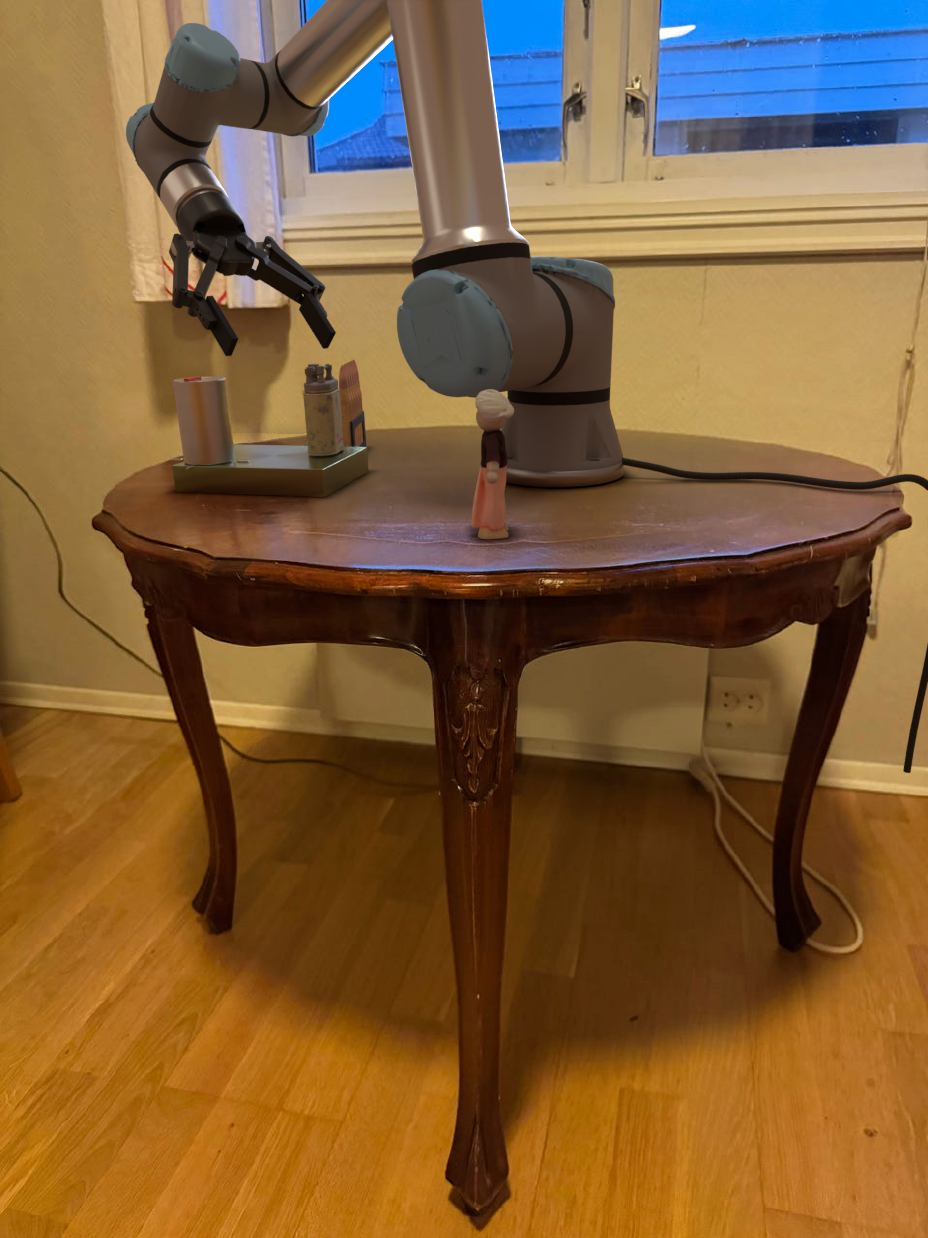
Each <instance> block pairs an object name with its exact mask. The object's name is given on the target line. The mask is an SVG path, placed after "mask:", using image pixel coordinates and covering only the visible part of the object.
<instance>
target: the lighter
mask: <svg viewBox="0 0 928 1238" xmlns="http://www.w3.org/2000/svg"><path fill="white" fill-rule="evenodd" d="M332 371H333V364H330V363H325V364H324V365H320V364H319V363H307V366H306V367H305V368H304V375H305V382H304V383H303V390H304V391H303V394H302V395H303V397H302V398H303V407H304V409H303V410H304V419H305V420H304V421H305V433H306V444H307V445H306V446H308V452H307V453H308V455H312V456H327V455H334V454H337V453H338V452H341V451H344V449H343V448H344V442H343V427H342V413H341V399H340V389H339V379H338V378H335V376H333V374H332V373H333V372H332Z"/></svg>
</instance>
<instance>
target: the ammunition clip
mask: <svg viewBox="0 0 928 1238" xmlns="http://www.w3.org/2000/svg"><path fill="white" fill-rule="evenodd" d="M338 388H339V389H340V399H341V413H342V427H343V442H344V447H367V433H366V419H365V410H363V397H362V395H363V394H362V389H361V382H360V374H359V369H358V365H357V362H356V360H355V359H352V360H350V361H348V362H346V363H344V364H341V365H340V368H339V373H338ZM367 448H368V447H367Z"/></svg>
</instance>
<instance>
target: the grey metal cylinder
mask: <svg viewBox="0 0 928 1238" xmlns="http://www.w3.org/2000/svg"><path fill="white" fill-rule="evenodd" d="M172 384H173V392H174V399H175V406H176V407H175V408H176V415H177V421H178V429H179V436H180V442H181V450H182V457H183V458H182V459H183V462H184V463H186V464H189V465H214V464H222V463H227V462H231V461H233V460H234V459H235V455H234V446H233V444H234V438H233V430H232V423H231V422H232V420H231V412H230V404H229V395H228V387H227V378H226V377H225V376H214V375H213V376H210V375H209V376H201V375H195V376H190V377H181V378H175V379H173V380H172Z"/></svg>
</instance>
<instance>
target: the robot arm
mask: <svg viewBox="0 0 928 1238" xmlns="http://www.w3.org/2000/svg"><path fill="white" fill-rule="evenodd" d="M484 14H485V13H484V6H483V0H325V2H323V4H322V5H321V6H320V7H319V8H318V9H317V10H316V12H315V13H313V15H312V16H311V17H310V18H309V19H308V20H307V21H306V22H305V24H303V25H302V26H301V28H299V30H298V31H297V32H296V33H295V34H294V35H293V36H292V37H291V38H290V39H289V40H288V41H287V42H286V44H285V45H284V46H283V47H282V48H281V49H280V50H279V51H278V52H277V53H276V54H275V55H274V56H273V57H272V58H271V59H270V61H268V62H261V61H256V60H251V59H247V58H243V57H241V56H240V54H239V51H238V49H237V48H236V47H235V45H234V44H233V43H232V41H230V40H229V39H228V38H227V37H226V36H225V35H223V34H222V33H220V32H219V31H217V30H214V29H213V30H212V29H210V28H209V27H208V26H207V25H205V24H203V23H202V24H201V23H199V22H198V23H197V22H187V23H184V24H182V25H181V26H180V27H178V29H177V31H176V33H175V35H174V38H173V39H172V42H171V43H170V47H169V49H168V52H167V53H166V56H165V58H164V66H163V69H162V72H161V77H160V81H159V84H158V88H157V91H156V94H155V99H154V102H151V103H147V104H144V105H141V106H140V107H138V108H137V109H136V112H135V113H133V115H131V116H130V117H129V118H128V120H127V123H126V127H125V138H126V142H127V144H128V146H129V149H130V150H131V153H132V155H133V157H134V160H135V162H136V165H137V166H138V168H139V169H140V170H141V172H143V175H144V176H145V178H146V179H147V180H148V182H149V183H150V185H151V187H152V189H153V191H154V192H155V193H156V195H157V197H158V198H159V200H160V202H161V204H162V205H163V207H164V209H165V210H166V212H167V213H168V215H169V217H170V219H171V220H172V222H173V224H174V226H175V227H176V228H177V231H178V232H179V233H174V234H173V236H172V239H171V243H170V246H169V249H168V254H169V256H170V258H171V261H172V263H173V267H172V291H171V292H172V295H171V305H172V306H173V307H174V308H176V309H182V308H183V307H186V308H187V311H186V312H187V314H188V315H189V316H190V317H193V318H196V317H197V319H198V320H199V323H200V325H202V327H203V328H204V330H206V331H210V332H211V333H212V336H213V337H214V338H215V341H216V342H217V345H219V348H220V349H221V350H222V352H223V354H224V356H225V357H232V356H233V353H234V351H235V349H236V347H237V343H238V341H239V338H238V335H237V334H236V332H235V330H234V329H233V327H232V325H231V323H230V322H229V320H228V319H227V317H226V315H225V314H224V312H223V310H222V309H221V307H220V305H219V303H218V302H217V300H216V299H215V297H214V295H207V293H208V291H209V289H210V286H211V284H212V282H213V280H214V278H215V275H216V273H218V274H221V275H222V276H223V277H231V276H240V277H242V276H243V277H246V276H247V277H248V278H250V279H252V280H253V281H255V282H259V281H261V282H262V283H264V284H266V285H268V287H271V288H273V290H276V291H277V292H279V293H281V294H282V295H284V296H286V297H287V298H289V299H290V300H292V301H294V302H295V303H296V304H299V308H298V311H299V313H300V314H301V316H302V317H303V319H304V321H305V322H306V324H307V325H308V327H309V328H310V330H311V331H312V334H313V335H314V337H315V338H316V340H317V341H318V343H319V345H320V346H321V348H322V349H324V350H325V349H329V347H330V346H331V343H332V342H333V340H334V338H335V335H336V334H337V331H336V330H335V328H334V327H333V325H332V324H331V322H330V321H329V319H328V312H327V311H326V309H325V307H324V306H323V304H322V303H321V298H322V297H323V294H324V292H325V290H326V285H325V284H324V283H323V282H321V281H320V280H319V279H318V278H317V277H315V276H314V275H313V274H312V273H311V272H310V271H308V270H307V269H306V268H305V267H303V265H302V264H300V263H299V262H298V261H297V260H295V259H294V258H293V257H291V256H290V255H289V254H288V253H287V252H286V251H284V250H283V249H282V248H281V246H279V244H278V242H277V241H276V240H275V239H274V238H273V237H272V236H270V235H265V237H264V239H263V241H255V240H254V239H253V238H251V237H250V236H249V235H248V234H247V230H246V227H245V222H244V220H243V218H242V216H241V214H240V213H239V211H238V210H237V208H236V206H235V205H234V203H233V202H232V200H231V199H230V196H229V195H228V193H227V192H226V190H225V189H224V187H223V185H222V184H221V182H220V181H219V179H218V177H217V176H216V174H215V172H214V171H213V169H212V167H211V166H210V164H209V162H208V161H207V159H206V156H207V152H208V150H209V147H210V145H211V144H212V142H213V140H214V137H215V135H216V132H217V130H218V128H219V127H220V126H223V127H229V128H230V127H231V128H237V129H246V130H254V131H260V132H267V133H272V134H279V135H283V136H287V137H310V136H314V135H316V134H318V133H319V132H320V131H321V130H322V129H323V127H324V126H325V121H326V118H328V115H329V110H330V99H331V97H333V96H334V95H335V94H336V93H337V92H338V91H339V90H340V89H341V88H342V87H343V86H344V85H346V83H347V82H349V81H350V80H351V79H352V78H353V77H354V76H355V75H356V74H357V73H358V72H360V71H361V69H363V68H364V67H365V66H366V65H367V64H368V63H369V62H370V61H371V60H373V58H374V57H375V56H377V55H378V54H379V53H380V52H381V51H382V50H383V49H384V48H386V46H387V45H388V44H389V43H391V41H392V43H393V50H394V55H395V63H396V70H397V77H398V83H399V89H400V95H401V103H402V110H403V115H404V123H405V129H406V135H407V142H408V148H409V155H410V162H411V166H412V167H411V168H412V174H413V175H412V176H413V181H414V188H415V194H416V200H417V207H418V214H419V221H420V227H421V233H422V243H421V245H420V247H419V248H418V250H417V251H416V253H415V255H414V256H413V258H412V259H411V261H410V263H411V271H412V277H413V280H411V282H410V283H409V284H408V285H407V286H406V288H405V289H404V291H403V293H402V295H401V301H402V304H401V305H399V306H398V307H397V313H396V332H397V338H398V343H399V346H400V350H401V352H402V355H403V358H404V360H405V361H406V363H407V365H408V367H409V368H410V370H411V371H412V373H413V374H414V375H415V376H416V378H417V379H418V380H419V381H420V382H421V381H422V382H423V383H424V384H425V385H426V386H427V387H428V388H429V389H430V390H432V391H433V392H435V393H437V394H439V395H443V396H446V397H449V398H466V397H467V398H474V399H476V397H477V396H478V394H479V393H480V392H481V391H484V390H488V389H493V390H496V391H498V392H500V393H504V392H507V394H506V395H507V396H506V397H507V398H508V400H509V402H510V404H511V405H512V407H513V408H514V414H513V415H512V416H511V417H510V418H506V420H505V424H504V426H503V427H502V428H501V429H500V430H501V431H502V433H503V435H504V437H505V444H506V451H507V467H506V483H509V484H514V485H519V486H528V487H541V488H542V487H543V488H573V487H587V486H593V485H594V486H595V485H601V484H606V483H610V482H613V481H616V480H618V479H620V478H622V477H623V476H624V467H625V466H626V467H632V468H638V469H641V470H648V471H653V472H656V473H660V474H665V475H669V476H673V477H678V478H681V479H690V480H702V481H733V480H734V481H735V480H737V481H738V480H761V481H763V480H764V481H775V482H776V481H779V482H787V483H794V484H801V485H808V486H815V487H821V488H829V489H838V490H839V489H840V490H854V491H866V490H872V489H873V490H874V489H879V488H883V487H888V486H891V485H894V484H900V483H908V482H909V483H914V484H917V485H919V486H921V487H922V488H923V489H925V490H926V491H928V479H927V478H925V477H924V476H922V475H918V474H913V473H903V474H896V475H892V476H889V477H883V478H880V479H879V478H878V479H875V480H869V481H847V480H836V479H834V480H833V479H826V478H819V477H813V476H812V477H811V476H805V475H799V474H789V473H780V472H768V471H766V472H765V471H734V472H732V471H731V472H704V471H703V472H702V471H691V470H685V469H684V470H683V469H679V468H678V469H677V468H674V467H669V466H666V465H662V464H657V463H652V462H649V461H642V460H637V459H632V458H627V457H624V453H623V450H622V446H621V443H620V439H619V435H618V431H617V429H616V424H615V422H614V418H613V414H612V410H611V385H612V384H611V382H612V359H613V340H614V339H613V335H614V315H615V313H614V312H615V308H616V298H615V295H614V276H613V273H612V272H611V270H610V269H609V267H608V266H606V265H605V264H602V263H599V262H596V261H592V260H587V259H582V258H567V257H562V256H531V249H530V243H529V241H528V240H527V239H526V237H524V236H522V235H521V234H520V233H519V232H518V231H516V230H515V229H514V227H513V226H512V224H511V216H510V208H509V199H508V191H507V184H506V176H505V170H504V161H503V155H502V146H501V139H500V131H499V123H498V116H497V108H496V100H495V92H494V85H493V83H494V82H493V76H492V69H491V59H490V52H489V46H488V45H489V44H488V38H487V29H486V23H485V22H486V21H485V15H484ZM191 255H192V256H193V257H194V258H196V259H197V260H198V261H200V262H201V263H203V264H205V265H204V267H203V270H202V272H201V274H200V277H199V278H198V281H197V283H196V285H195V288H194V290H192V289H189V269H190V267H189V265H190V263H189V262H190V258H191ZM255 259H256V260H257V262H258V263H257V266H256V268H253V267H254V264H255ZM925 650H926V651H925V656H924V660H923V665H922V670H921V674H920V675H921V676H920V679H919V684H918V688H917V694H916V697H915V698H916V699H915V703H914V708H913V713H912V717H911V723H910V728H909V732H908V739H907V743H906V749H905V756H904V762H903V768H902V769H903V770H902V772H904V773H905V774H910V773H911V772H912V766H913V760H914V754H915V753H914V752H915V748H916V742H917V737H918V731H919V725H920V721H921V716H922V711H923V707H924V702H925V696H926V692H927V688H928V643H927V645H926V649H925ZM911 774H912V773H911Z"/></svg>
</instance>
